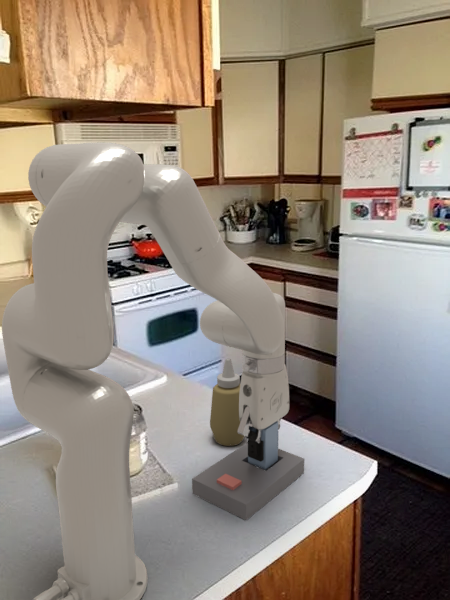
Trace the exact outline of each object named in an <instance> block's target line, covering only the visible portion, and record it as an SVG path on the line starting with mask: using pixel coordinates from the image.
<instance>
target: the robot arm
mask: <svg viewBox="0 0 450 600" xmlns="http://www.w3.org/2000/svg"><path fill="white" fill-rule="evenodd" d="M27 174H28V185H29V187H30V190H31V193H33V195H34V197H35V198H36V199H37V201H39V203H40V204H42V205H43V206H44V207H45V209H44V210H43V212H42V214H41V216H40V218H39V220H38V221H37V224H36V227H35V231H34V233H33V237H32V244H31V262H32V263H31V264H32V272H33V273H32V274H33V283H30V284H26V285H24V286H22V287H20V288H19V289H18V290H17V291H16V292H15V293H14V294H12V296H11V297H10V298H9V300H8V302H7V304H6V306H5V307H4V311H3V315H2V319H1V335H2V336H1V337H2V343H3V347H4V354H5V359H6V366H7V372H8V377H9V383H10V388H11V394H12V397H13V401H14V404H15V406H16V409H17V411H18V412H19V414H20V415H21V417H23V419H24V420H26V421H27V423H29V424H31V425H33V426H34V427H36V428H38V429H39V430H40V431H43V432H44V433H46V434H48V435H49V436H50V437H53V438H54V439H55V440H57V441H58V442H59V444H60V447H61V454H60V458H59V461H58V464H57V467H56V471H55V489H56V498H57V504H58V514H59V525H60V534H61V544H62V545H61V546H62V554H63V557H62V558H63V566H61V567H59V568H58V569H57V570H56V571H57V579H56V580H55V581H53V583H52V586H51V587H50V588H48V589H47V590H44V591H42V592H41V593H39V594H38V595H37V596H35V597H34V598H33V599H32V600H141V598H143V596H144V594H145V593H146V590H147V587H148V580H149V579H148V569H147V567H146V565H145V563H144V562H143V560H142V559H141V558H140V557H139V556H138V555H137V554H136V550H135V548H136V547H135V532H134V519H133V518H134V517H133V502H132V501H133V500H132V499H133V498H132V486H131V473H130V472H131V471H130V449H131V448H130V446H131V437H132V432H133V425H134V419H135V417H134V415H135V411H134V404H133V401H132V398H131V397H130V394H129V393H128V392H127V391H126V389H125V388H124V387H123V386H122V385H121V384H120V383H118V382H116V381H115V380H113V379H112V378H110V377H108V376H105V375H103V374H101V373H98V372H97V371H96V372H95V371H93V370H92V369H94V368H97V367H99V366H101V365H103V363H105V361H107V359H108V358H109V356H110V355H111V353H112V349H113V345H114V340H115V339H114V335H115V333H114V332H115V331H114V320H113V313H112V312H113V311H112V303H111V293H110V285H109V283H110V282H109V275H108V249H109V244H110V241H111V239H112V236H113V234H114V232H115V230H116V228H117V227H118V225H119V224H120V223H126V224H133V225H142V226H146V227H147V228H148V229H149V230H150V232H151V234H152V236H153V237H154V239H155V241H156V242H157V245H159V248H160V249H161V251H162V253H163V254H164V256H165V257H166V259H167V261H168V262H169V264H170V267H172V270H173V272H174V273H175V275H176V276H177V277H178V278H180V279H181V280H182V281H183V282H185V283H186V284H188V285H190V286H191V287H192V288H194V289H196V290H197V291H199V292H201V293H203V294H205V295H207V296H209V297H210V298H213V299H215V301H213V302H210V304H208V305H207V306H206V307H205V308H204V310H203V311H202V313H201V315H200V320H199V326H200V330H201V333H202V334H203V336H204V337H205V338H206V339H208V340H209V341H211V342H212V343H216V344H217V345H218V344H219V345H223V346H226V347H229V348H234V349H238V350H241V352H242V353H241V354H242V357H241V358H242V367H241V368H242V372H241V377H240V394H239V419H240V425H239V428H238V431H237V432H238V434H241V435H244V438H245V439H247V442H248V456H249V457H250V458H253V459H255V460H258V461H260V462H261V461H263V459H264V441H261V439H262V430H263V429H265V428H267V427H268V426H270V425H271V424H273V423H274V422H276V421H277V422H278V431H279V430H280V428H281V420H282V418H283V417H285V416H286V415H287V414H288V413H289V410H290V385H289V384H290V383H289V377H288V370H287V369H288V368H287V366H286V364H285V361H286V360H285V359H286V358H285V354H286V353H285V351H286V349H285V348H286V345H285V344H286V301H285V299H284V296H282V295H281V294H279V293H276V292H273V291H272V289H271V287H270V286H269V285H268V284H267V282H266V281H265V280H264V279H263V278H262V276H260V275H259V274H258V273H257V272H256V271H255V270H253V269H252V268H251V267H250V266H249V265H248V264H247V263H246V262H245V261H244V260H243V259H241V257H239V256H238V255H237V254H236V253H234V252H233V251H232V250H231V249H229V248H228V246H227V244H225V242H224V240H223V238H222V235H221V234H220V232H219V229H218V228H217V226H216V224H215V222H214V219H213V218H212V216H211V213H210V211H209V208H208V207H207V204H206V203H205V201H204V198H203V197H202V194H201V193H200V190H199V188H198V186H197V184H196V183H195V181H194V178H193V177H192V176H191V175H190V174H189V173H188V172H187V171H186V170H185V169H183V168H182V167H179V166H177V165H173V164H162V163H159V164H158V163H157V164H155V163H149V164H147V163H143V160H142V158H141V157H140V155H139V154H138V153H137V152H136V151H135V150H134V149H132V148H130V147H129V146H126V145H123V144H120V143H116V142H115V143H114V142H105V141H104V142H99V141H98V142H82V143H81V142H80V143H64V144H63V143H62V144H60V143H59V144H53V145H50V146H47V147H44V148H43V149H41V150H40V151H39V152H38V153H36V155H35V156H34V157H33V159H32V161H31V162H30V164H29V168H28V173H27ZM252 428H256V433H255V432H253V431H252Z"/></svg>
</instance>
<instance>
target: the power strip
mask: <svg viewBox="0 0 450 600" xmlns="http://www.w3.org/2000/svg"><path fill="white" fill-rule="evenodd" d="M304 473H305V458H304V457H300V456H298V455H296V454H293V453H291V452H289V451H285V450H282V449H281V448H278V461H276V462H275V463H274V464H272V465H271V466H270V467H268V468H267V469H266V470H265V469H263V468H260V467H258V466H255V465H253V464H251V463H248V441H247V442H246V443H244V444H243V445H241V446H240V447H238V448H237V449H235V450H234V451H232V452H231V453H229V454H228V455H226V456H225V457H223V458H222V459H219V461H217V462H215V463H214V464H212V465H211V466H209V467H208V468H207V469H205V470H203V471H201V472H200V473H198V474H197V475H196V476H193V478H192V479H191V484H192V485H191V486H192V487H191V488H192V489H191V491H192V495H194V496H196V497H198V498H200V499H202V500H204V501H207V502H208V503H210V504H212V505H215V506H216V507H218V508H220V509H222V510H224V511H227V512H228V513H230V514H232V515H234V516H236V517H238V518H240V519H242V520H244V521H248V520H249V519H250V518H251V517H252V516H254V515H255V514H256V513H257V512H258V511H260V510H261V509H263V507H264V506H266V505H267V504H268V503H269V502H271V501H272V500H273V499H275V497H277V496H278V495H279V494H280V493H281V492H283V491H284V490H285V489H287V487H289V486H290V485H291V484H292V483H294V482H295V481H296V480H298V478H300V477H301V476H302V475H304Z"/></svg>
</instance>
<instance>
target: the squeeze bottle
mask: <svg viewBox="0 0 450 600" xmlns="http://www.w3.org/2000/svg"><path fill="white" fill-rule="evenodd" d="M240 384H241V377H240V375H239V374H238V373H236V372H234V367H233V363H232V359H231V358H225V361H224V365H223V370H222V373H220V374H218V375H217V376H216V384H215V385H214V386H213V387H212V393H211V396H212V397H211V405H210V418H209V427H210V429H211V432H212V435H213V438H214V440H215V442H216V443H218V444H219V445H221V446H225V447H226V446H227V447H229V446H231V447H232V446H236V445H237V446H238V445H239V444H241V443H242V442H243V440H244V438H245V436H244V435H241V434H238V432H237V431H238V428H239V425H240V419H239V394H240Z"/></svg>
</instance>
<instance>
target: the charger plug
mask: <svg viewBox="0 0 450 600" xmlns="http://www.w3.org/2000/svg"><path fill="white" fill-rule="evenodd" d="M252 431H253V432H255V433H256V428H252ZM261 441H264V459H263V461H261V462H260V461H258V460H255V459H253V458H250V457H249V456H248V463H251V464H253V465H255V466H256V467H258V468H261V469H263V470H265V471H267V470H268V469H269V468H271V467H270V466H271V465H272V464H274V463H275V462H276V461H278V449H279V430H278V422H277V421H276V422H274V423H273V424H271V425H270V426H268V427H267V428H265V429H263V430H262V439H261Z"/></svg>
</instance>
